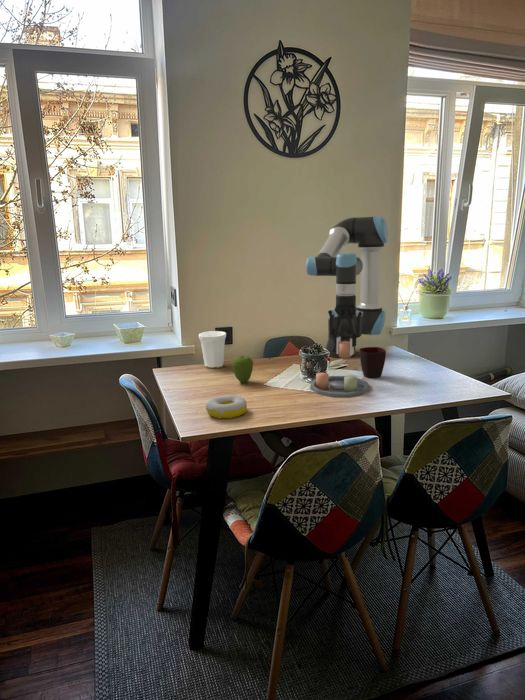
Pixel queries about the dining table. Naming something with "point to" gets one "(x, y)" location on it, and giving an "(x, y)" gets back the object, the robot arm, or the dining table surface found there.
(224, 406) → the donut
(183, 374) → the dining table surface
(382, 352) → the mug
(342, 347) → the terracotta bead
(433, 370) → the dining table surface
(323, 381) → the terracotta bead
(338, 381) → the groove tray
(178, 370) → the dining table surface
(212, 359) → the cup
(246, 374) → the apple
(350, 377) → the olive bead
